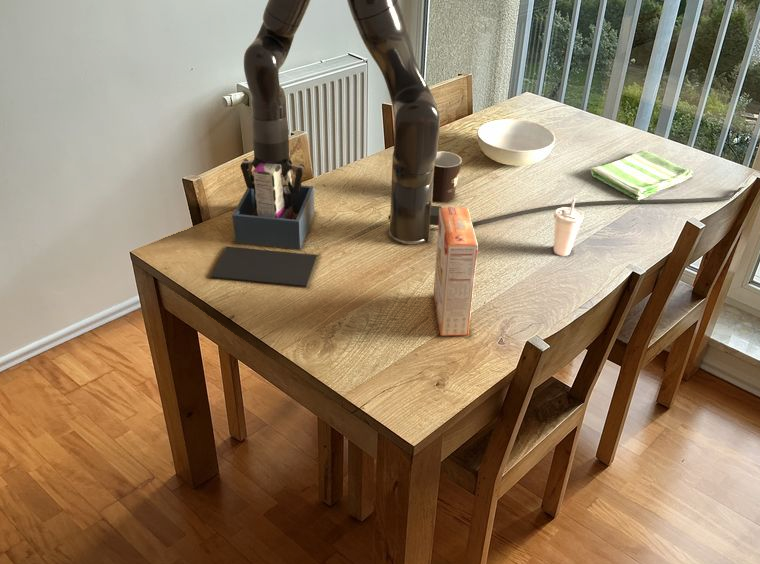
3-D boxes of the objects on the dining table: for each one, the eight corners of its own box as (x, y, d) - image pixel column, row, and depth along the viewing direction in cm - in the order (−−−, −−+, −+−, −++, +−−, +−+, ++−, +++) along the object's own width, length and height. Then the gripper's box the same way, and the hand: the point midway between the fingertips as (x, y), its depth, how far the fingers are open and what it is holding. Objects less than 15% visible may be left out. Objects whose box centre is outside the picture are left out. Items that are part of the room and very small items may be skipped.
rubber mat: (317, 256, 175) (317, 255, 175) (306, 287, 166) (306, 285, 166) (226, 247, 176) (226, 246, 176) (210, 278, 167) (210, 276, 166)
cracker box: (431, 295, 166) (438, 205, 153) (460, 295, 167) (469, 205, 154) (438, 337, 155) (446, 243, 142) (468, 336, 156) (479, 244, 143)
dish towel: (693, 179, 216) (696, 169, 214) (638, 202, 204) (641, 192, 202) (640, 154, 226) (642, 145, 224) (585, 175, 214) (587, 166, 212)
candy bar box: (274, 214, 188) (270, 148, 178) (294, 217, 188) (291, 151, 178) (257, 237, 180) (251, 170, 170) (278, 241, 179) (274, 173, 169)
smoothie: (558, 261, 179) (569, 205, 171) (542, 247, 184) (552, 192, 175) (581, 255, 182) (593, 200, 173) (565, 241, 186) (576, 187, 178)
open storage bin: (314, 213, 190) (313, 186, 186) (300, 249, 177) (299, 221, 173) (253, 207, 191) (251, 180, 186) (234, 243, 178) (232, 215, 173)
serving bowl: (500, 135, 231) (502, 112, 227) (564, 156, 222) (568, 133, 218) (460, 158, 218) (462, 134, 213) (527, 182, 209) (530, 158, 204)
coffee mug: (439, 208, 195) (442, 170, 189) (416, 194, 200) (418, 157, 194) (473, 195, 202) (478, 158, 195) (450, 182, 207) (454, 145, 200)
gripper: (232, 139, 167) (239, 211, 178) (300, 145, 167) (303, 217, 177) (241, 124, 173) (247, 195, 184) (307, 130, 173) (310, 201, 183)
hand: (275, 206), depth 180 cm, fingers closed on candy bar box, 5 cm apart
